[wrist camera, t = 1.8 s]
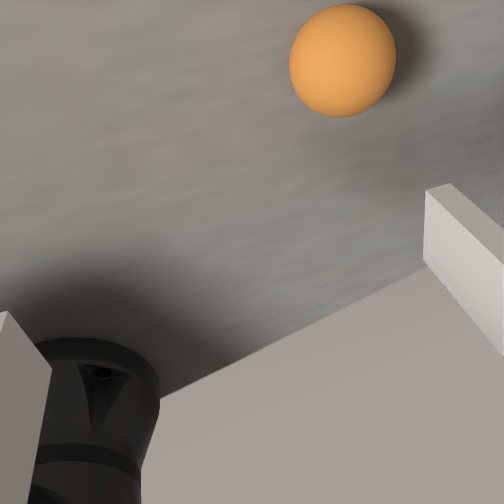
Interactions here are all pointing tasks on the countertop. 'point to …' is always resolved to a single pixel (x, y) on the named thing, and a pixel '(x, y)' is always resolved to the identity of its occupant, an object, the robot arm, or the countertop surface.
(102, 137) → the countertop surface
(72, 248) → the countertop surface
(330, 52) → the ball
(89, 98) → the countertop surface
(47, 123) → the countertop surface
